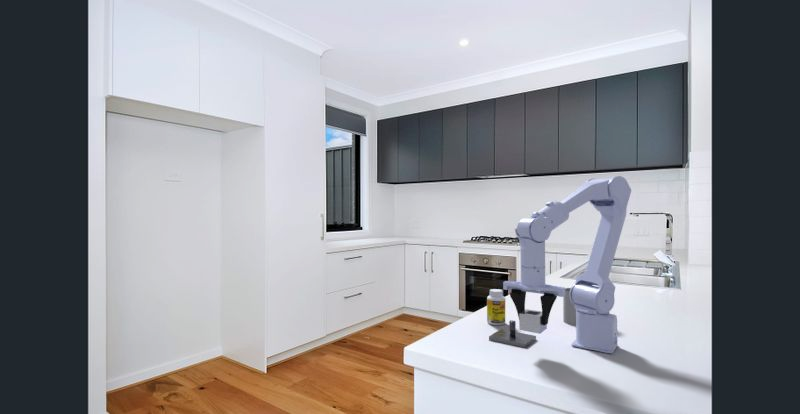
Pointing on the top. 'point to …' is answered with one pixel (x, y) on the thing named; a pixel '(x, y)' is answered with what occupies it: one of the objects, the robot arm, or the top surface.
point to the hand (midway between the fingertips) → (533, 322)
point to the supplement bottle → (496, 307)
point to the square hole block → (531, 321)
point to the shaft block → (512, 336)
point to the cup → (568, 309)
